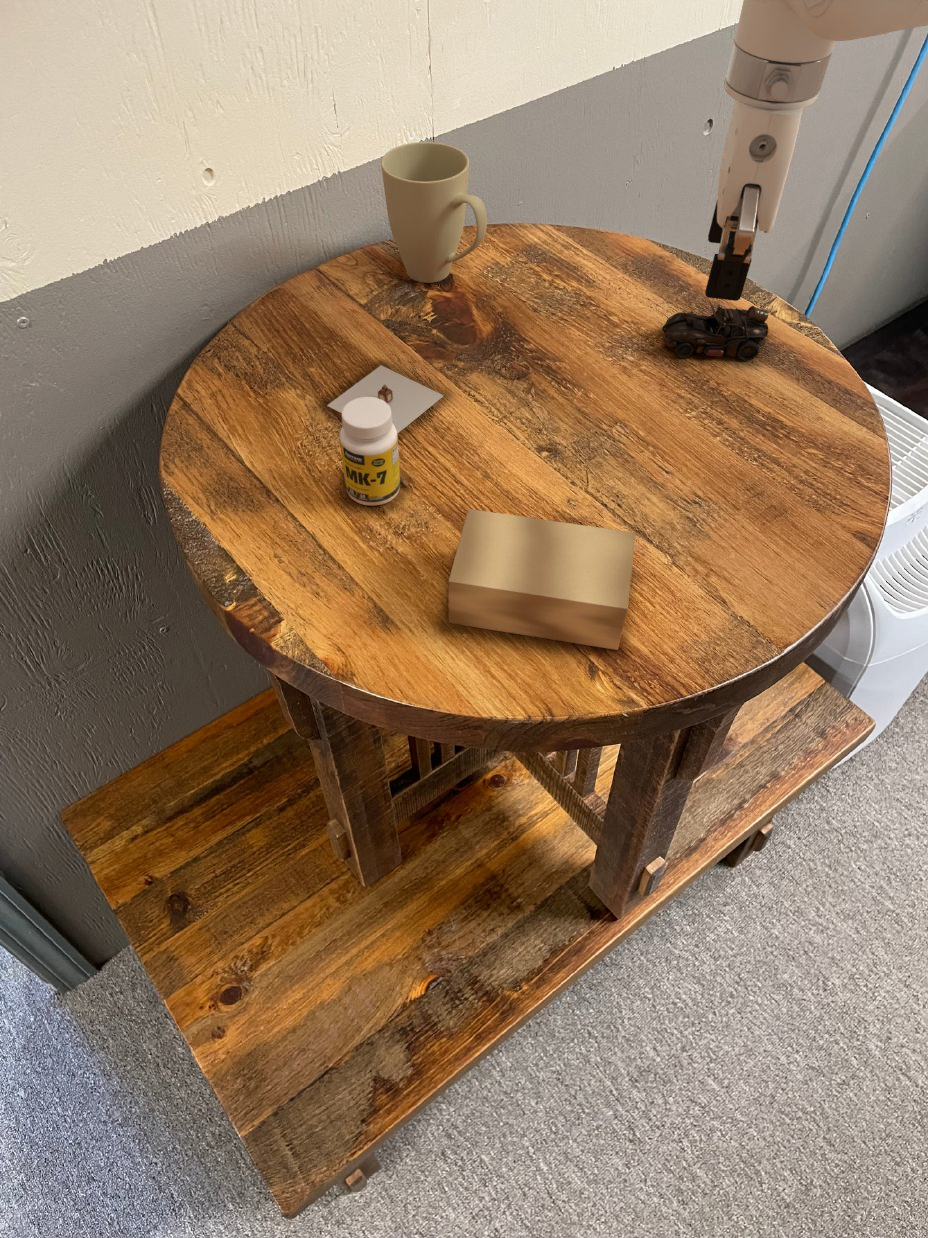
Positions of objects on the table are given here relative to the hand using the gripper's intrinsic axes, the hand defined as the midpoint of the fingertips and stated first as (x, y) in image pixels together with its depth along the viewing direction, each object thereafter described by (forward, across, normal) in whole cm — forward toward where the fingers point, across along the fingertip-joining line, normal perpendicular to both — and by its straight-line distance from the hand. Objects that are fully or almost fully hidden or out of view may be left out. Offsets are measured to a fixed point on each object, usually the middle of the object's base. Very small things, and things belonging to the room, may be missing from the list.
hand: (722, 268), depth 83 cm
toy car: (+8, 0, 0) cm, 8 cm away
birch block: (+8, -37, +12) cm, 40 cm away
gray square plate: (+8, -16, +30) cm, 35 cm away
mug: (+9, +7, +30) cm, 32 cm away
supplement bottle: (+8, -28, +28) cm, 40 cm away
